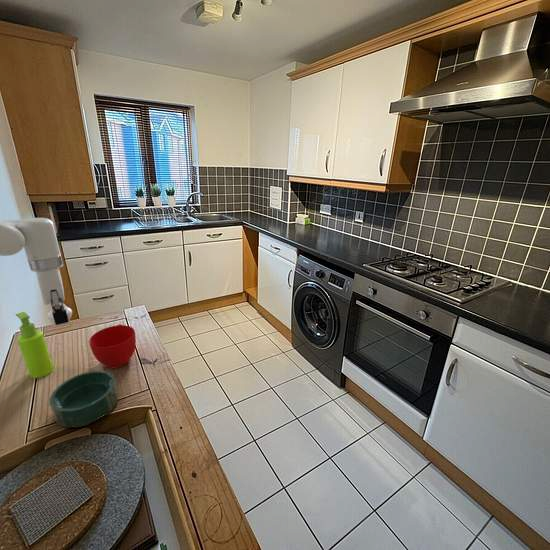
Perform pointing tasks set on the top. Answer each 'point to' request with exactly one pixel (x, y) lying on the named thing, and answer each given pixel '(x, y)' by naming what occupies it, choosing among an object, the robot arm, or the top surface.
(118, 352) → the red bowl
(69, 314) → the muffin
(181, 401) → the top surface
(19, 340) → the soap dispenser
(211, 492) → the top surface
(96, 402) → the dark green pet bowl
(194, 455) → the top surface
